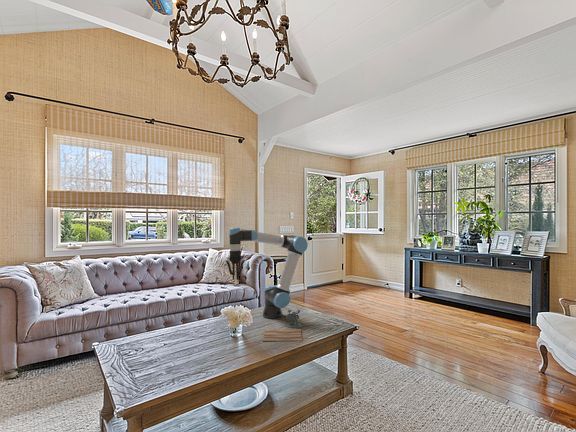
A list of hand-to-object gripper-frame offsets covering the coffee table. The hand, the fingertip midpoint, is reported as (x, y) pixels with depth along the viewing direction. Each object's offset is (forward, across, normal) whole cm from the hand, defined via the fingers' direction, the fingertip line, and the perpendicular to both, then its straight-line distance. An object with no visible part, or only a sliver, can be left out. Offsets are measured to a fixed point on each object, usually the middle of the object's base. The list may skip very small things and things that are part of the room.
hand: (235, 284), depth 214 cm
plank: (+30, +32, -12) cm, 45 cm away
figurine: (+31, +40, +2) cm, 50 cm away
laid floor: (+30, +32, -21) cm, 49 cm away
